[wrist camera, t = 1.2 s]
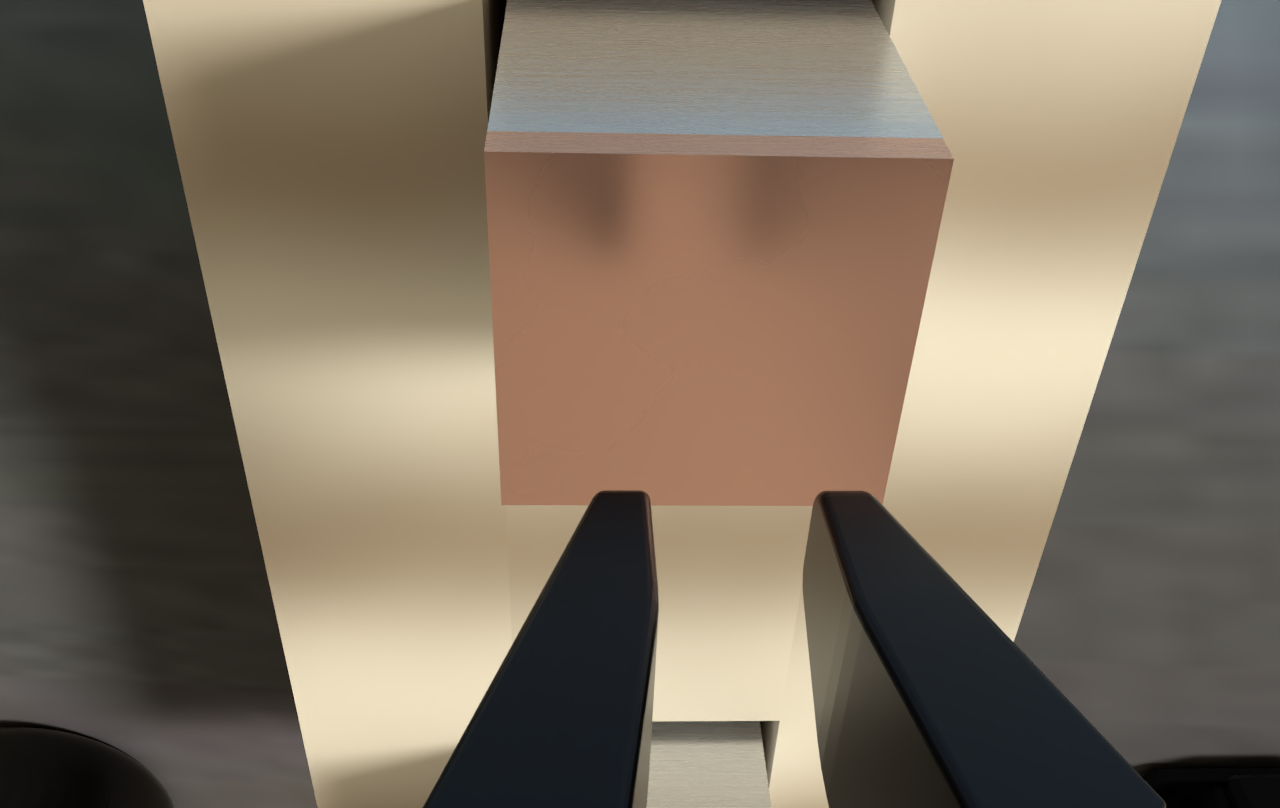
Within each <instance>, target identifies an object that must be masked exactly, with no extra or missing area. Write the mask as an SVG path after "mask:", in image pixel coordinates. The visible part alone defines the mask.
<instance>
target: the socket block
mask: <svg viewBox="0 0 1280 808" xmlns="http://www.w3.org/2000/svg"><path fill="white" fill-rule="evenodd" d="M871 2H872V3H873V5H874V7H875V9H876V11H877V13H878V15H879V17H880V19H881V21H882V22H883V24H884V26H885V28H886V30H887V32H888V34H889V36H890V38H891V40H892V42H893V43H894V45H895V47H896V49H897V51H898V53H899V55H900V57H901V59H902V61H903V63H904V64H905V66H906V68H907V70H908V72H909V74H910V76H911V78H912V80H913V82H914V83H915V85H916V87H917V89H918V91H919V93H920V95H921V97H922V99H923V101H924V103H925V104H926V106H927V108H928V110H929V112H930V114H931V116H932V118H933V120H934V122H935V124H936V125H937V127H938V129H939V131H940V133H941V135H942V137H943V139H944V141H945V143H946V144H947V146H948V148H949V150H950V152H951V154H952V156H953V158H954V161H953V166H952V171H951V176H950V181H949V186H948V190H947V195H946V200H945V205H944V210H943V215H942V219H941V224H940V229H939V234H938V239H937V244H936V249H935V253H934V258H933V263H932V268H931V273H930V278H929V282H928V287H927V292H926V297H925V302H924V307H923V312H922V316H921V321H920V326H919V331H918V336H917V341H916V345H915V350H914V355H913V360H912V365H911V370H910V374H909V379H908V384H907V389H906V394H905V399H904V404H903V408H902V413H901V418H900V423H899V428H898V433H897V437H896V442H895V447H894V452H893V457H892V462H891V467H890V471H889V476H888V481H887V486H886V491H885V496H884V500H883V506H884V507H885V508H886V509H887V510H888V511H889V512H890V513H891V514H892V515H893V516H894V517H895V518H896V519H897V520H898V521H899V522H900V524H901V525H902V526H903V527H904V528H905V529H906V530H907V531H908V532H909V533H910V534H911V535H912V536H913V537H914V538H915V539H916V540H917V541H918V542H919V544H920V545H921V546H922V547H923V548H924V549H925V550H926V551H927V552H928V553H929V554H930V555H931V556H932V557H933V558H934V559H935V560H936V561H937V562H938V563H939V565H940V566H941V567H942V568H943V569H944V570H945V571H946V572H947V573H948V574H949V575H950V576H951V577H952V578H953V579H954V580H955V581H956V582H957V583H958V584H959V586H960V587H961V588H962V589H963V590H964V591H965V592H966V593H967V594H968V595H969V596H970V597H971V598H972V599H973V600H974V601H975V602H976V603H977V604H978V606H979V607H980V608H981V609H982V610H983V611H984V612H985V613H986V614H987V615H988V616H989V617H990V618H991V619H992V620H993V621H994V622H995V623H996V624H997V625H998V627H999V628H1000V629H1001V630H1002V631H1003V632H1004V633H1005V634H1006V635H1007V636H1008V637H1009V638H1010V639H1011V640H1012V641H1013V642H1014V639H1015V636H1016V633H1017V630H1018V627H1019V624H1020V620H1021V617H1022V614H1023V611H1024V608H1025V605H1026V602H1027V599H1028V596H1029V593H1030V590H1031V587H1032V583H1033V580H1034V577H1035V574H1036V571H1037V568H1038V565H1039V562H1040V559H1041V556H1042V553H1043V549H1044V546H1045V543H1046V540H1047V537H1048V534H1049V531H1050V528H1051V525H1052V522H1053V519H1054V516H1055V512H1056V509H1057V506H1058V503H1059V500H1060V497H1061V494H1062V491H1063V488H1064V485H1065V482H1066V479H1067V475H1068V472H1069V469H1070V466H1071V463H1072V460H1073V457H1074V454H1075V451H1076V448H1077V445H1078V441H1079V438H1080V435H1081V432H1082V429H1083V426H1084V423H1085V420H1086V417H1087V414H1088V411H1089V408H1090V404H1091V401H1092V398H1093V395H1094V392H1095V389H1096V386H1097V383H1098V380H1099V377H1100V374H1101V370H1102V367H1103V364H1104V361H1105V358H1106V355H1107V352H1108V349H1109V346H1110V343H1111V340H1112V337H1113V333H1114V330H1115V327H1116V324H1117V321H1118V318H1119V315H1120V312H1121V309H1122V306H1123V303H1124V300H1125V296H1126V293H1127V290H1128V287H1129V284H1130V281H1131V278H1132V275H1133V272H1134V269H1135V266H1136V262H1137V259H1138V256H1139V253H1140V250H1141V247H1142V244H1143V241H1144V238H1145V235H1146V232H1147V229H1148V225H1149V222H1150V219H1151V216H1152V213H1153V210H1154V207H1155V204H1156V201H1157V198H1158V195H1159V192H1160V188H1161V185H1162V182H1163V179H1164V176H1165V173H1166V170H1167V167H1168V164H1169V161H1170V158H1171V154H1172V151H1173V148H1174V145H1175V142H1176V139H1177V136H1178V133H1179V130H1180V127H1181V124H1182V121H1183V117H1184V114H1185V111H1186V108H1187V105H1188V102H1189V99H1190V96H1191V93H1192V90H1193V87H1194V83H1195V80H1196V77H1197V74H1198V71H1199V68H1200V65H1201V62H1202V59H1203V56H1204V53H1205V50H1206V46H1207V43H1208V40H1209V37H1210V34H1211V31H1212V28H1213V25H1214V22H1215V19H1216V16H1217V13H1218V9H1219V6H1220V3H1221V0H871ZM143 3H144V8H145V12H146V17H147V21H148V26H149V31H150V35H151V40H152V44H153V49H154V54H155V58H156V63H157V68H158V72H159V77H160V81H161V86H162V91H163V95H164V100H165V105H166V109H167V114H168V118H169V123H170V128H171V132H172V137H173V141H174V146H175V151H176V155H177V160H178V165H179V169H180V174H181V178H182V183H183V188H184V192H185V197H186V201H187V206H188V211H189V215H190V220H191V225H192V229H193V234H194V238H195V243H196V248H197V252H198V257H199V261H200V266H201V271H202V275H203V280H204V285H205V289H206V294H207V298H208V303H209V308H210V312H211V317H212V321H213V326H214V331H215V335H216V340H217V345H218V349H219V354H220V358H221V363H222V368H223V372H224V377H225V381H226V386H227V391H228V395H229V400H230V405H231V409H232V414H233V418H234V423H235V428H236V432H237V437H238V441H239V446H240V451H241V455H242V460H243V465H244V469H245V474H246V478H247V483H248V488H249V492H250V497H251V502H252V506H253V511H254V515H255V520H256V525H257V529H258V534H259V538H260V543H261V548H262V552H263V557H264V562H265V566H266V571H267V575H268V580H269V585H270V589H271V594H272V598H273V603H274V608H275V612H276V617H277V622H278V626H279V631H280V635H281V640H282V645H283V649H284V654H285V658H286V663H287V668H288V672H289V677H290V682H291V686H292V691H293V695H294V700H295V705H296V709H297V714H298V718H299V723H300V728H301V732H302V737H303V742H304V746H305V751H306V755H307V760H308V765H309V769H310V774H311V778H312V783H313V788H314V792H315V797H316V802H317V806H318V808H423V806H424V804H425V802H426V800H427V799H428V797H429V795H430V793H431V791H432V790H433V788H434V786H435V784H436V782H437V780H438V779H439V777H440V775H441V773H442V771H443V770H444V768H445V766H446V764H447V762H448V760H449V759H450V757H451V755H452V753H453V751H454V749H455V748H456V746H457V744H458V742H459V740H460V739H461V737H462V735H463V733H464V731H465V729H466V728H467V726H468V724H469V722H470V720H471V719H472V717H473V715H474V713H475V711H476V709H477V708H478V706H479V704H480V702H481V700H482V698H483V697H484V695H485V693H486V691H487V689H488V688H489V686H490V684H491V682H492V680H493V678H494V677H495V675H496V673H497V671H498V669H499V668H500V666H501V664H502V662H503V660H504V658H505V657H506V655H507V653H508V651H509V649H510V647H511V646H512V644H513V642H514V640H515V638H516V637H517V635H518V633H519V631H520V629H521V627H522V626H523V624H524V622H525V620H526V618H527V617H528V615H529V613H530V611H531V609H532V607H533V606H534V604H535V602H536V600H537V598H538V597H539V595H540V593H541V591H542V589H543V587H544V586H545V584H546V582H547V580H548V578H549V576H550V575H551V573H552V571H553V569H554V567H555V566H556V564H557V562H558V560H559V558H560V556H561V555H562V553H563V551H564V549H565V547H566V546H567V544H568V542H569V540H570V538H571V536H572V535H573V533H574V531H575V529H576V527H577V525H578V524H579V522H580V520H581V518H582V516H583V515H584V513H585V511H586V509H587V507H588V505H501V486H500V466H499V446H498V426H497V405H496V385H495V365H494V345H493V325H492V304H491V284H490V264H489V244H488V223H487V203H486V183H485V163H484V148H485V142H486V135H487V129H488V122H489V116H490V109H491V103H492V96H493V90H494V83H495V77H496V71H497V64H498V58H499V51H500V45H501V38H502V32H503V25H504V19H505V12H506V6H507V0H143ZM812 507H813V506H658V505H651V512H652V523H653V535H654V546H655V557H656V569H657V580H658V596H659V614H658V631H657V648H656V665H655V682H654V699H653V716H652V721H760V727H761V735H762V742H763V749H764V757H765V764H766V772H767V779H768V786H769V794H770V801H771V808H829V806H828V801H827V797H826V791H825V786H824V781H823V776H822V771H821V764H820V756H819V748H818V741H817V731H816V721H815V711H814V701H813V691H812V681H811V671H810V661H809V651H808V641H807V631H806V621H805V611H804V601H803V584H802V583H803V565H804V558H805V552H806V545H807V539H808V533H809V526H810V520H811V514H812Z"/></svg>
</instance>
